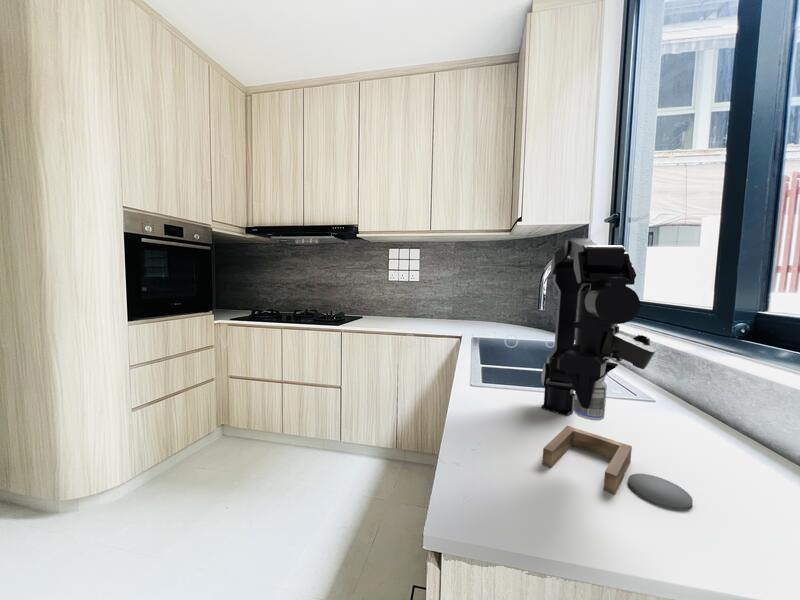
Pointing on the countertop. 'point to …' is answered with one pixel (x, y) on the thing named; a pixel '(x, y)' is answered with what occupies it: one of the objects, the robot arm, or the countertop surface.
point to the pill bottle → (593, 403)
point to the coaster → (660, 491)
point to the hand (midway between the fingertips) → (589, 404)
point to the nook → (592, 443)
